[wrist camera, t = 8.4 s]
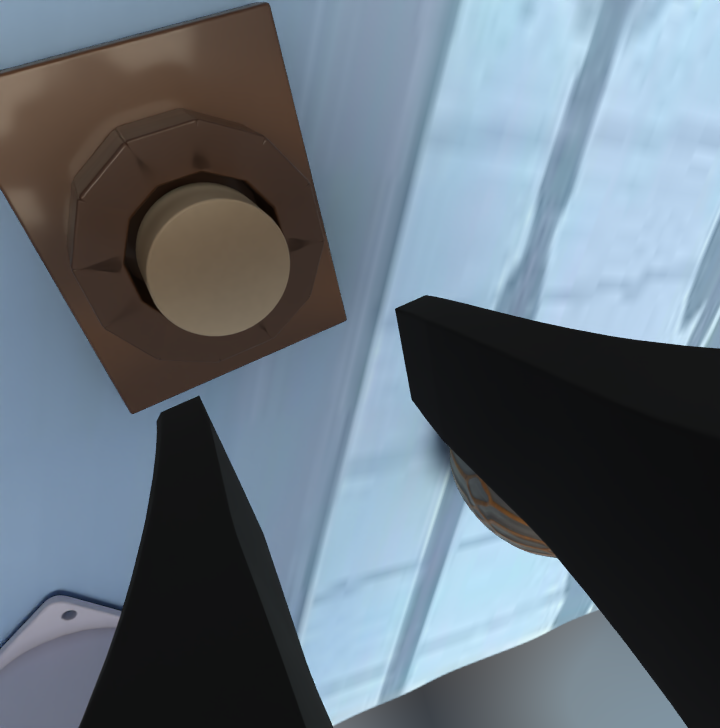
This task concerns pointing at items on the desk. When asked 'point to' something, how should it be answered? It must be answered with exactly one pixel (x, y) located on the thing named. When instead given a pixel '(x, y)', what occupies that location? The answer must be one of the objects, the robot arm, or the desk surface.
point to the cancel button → (212, 259)
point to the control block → (162, 185)
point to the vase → (495, 510)
